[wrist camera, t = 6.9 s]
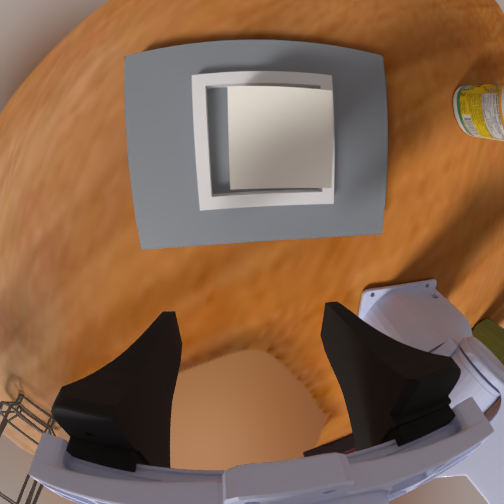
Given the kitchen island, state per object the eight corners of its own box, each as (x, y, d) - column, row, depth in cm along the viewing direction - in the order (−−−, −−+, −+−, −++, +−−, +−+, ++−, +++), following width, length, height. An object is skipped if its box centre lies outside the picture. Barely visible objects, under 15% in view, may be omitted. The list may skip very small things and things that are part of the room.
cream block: (298, 105, 15) (331, 90, 10) (299, 172, 17) (331, 188, 12) (228, 105, 15) (227, 86, 10) (230, 173, 17) (230, 189, 11)
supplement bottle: (452, 130, 18) (530, 143, 9) (448, 79, 16) (524, 74, 7) (481, 140, 18) (550, 155, 10) (479, 93, 16) (547, 97, 7)
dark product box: (392, 449, 36) (323, 481, 37) (384, 434, 40) (318, 465, 41) (390, 433, 32) (307, 471, 33) (380, 416, 36) (302, 452, 37)
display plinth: (370, 61, 16) (389, 52, 13) (370, 226, 21) (388, 238, 18) (134, 63, 15) (119, 52, 12) (148, 239, 20) (137, 255, 17)
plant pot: (446, 342, 29) (487, 394, 19) (498, 291, 27) (543, 331, 17) (450, 375, 33) (480, 418, 23) (496, 332, 31) (529, 369, 21)
